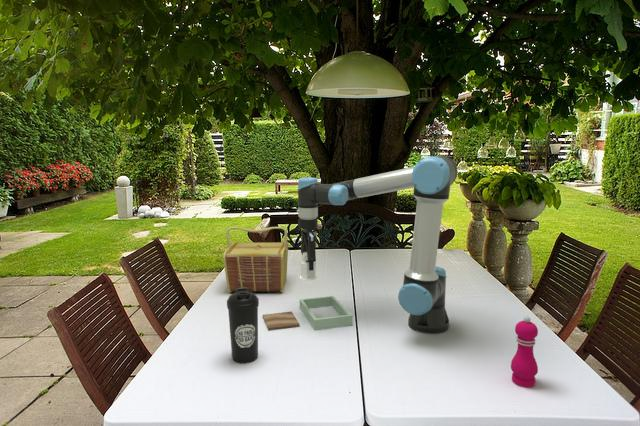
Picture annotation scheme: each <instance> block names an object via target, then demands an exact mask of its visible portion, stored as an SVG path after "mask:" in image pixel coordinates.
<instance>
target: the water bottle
mask: <svg viewBox="0 0 640 426" xmlns="http://www.w3.org/2000/svg"><path fill="white" fill-rule="evenodd" d="M259 304H260V303H259V297H258V296H257V295H256V294H255V292H249V291H248V289H247V287H241V288H236V292H233V293H232V294H231V295H229V296H228V298H227V300H226V308H227V310H228V322H229V333H230V334H229V335H230V336H229V337H230V347H231V360H232V361H233V362H235V363H237V364H249V363H252V362H254V361H257V359H258V357H259V318H258V317H259V316H258V315H259V310H258V309H259V306H260V305H259Z"/></svg>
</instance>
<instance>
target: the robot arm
mask: <svg viewBox="0 0 640 426" xmlns="http://www.w3.org/2000/svg"><path fill="white" fill-rule="evenodd" d="M457 178H458V167H457V164H456V163H455V161H454V160H453V158H451V157H449V156H446V155H434V156H432V155H431V156H426V157H423V158H422V159H421V160H418V162H416V164H415V165H414V166H411V167H406V168H402V169H397V170H392V171H387V172H382V173H378V174H373V175H369V176H364V177H359V178H355V179H350V180H345V181H340V182H335V183H331V184H330V183H329V184H328V183H319V181H318V178H317V177H300V178H299V179H298V183H297V197H298V199H297V200H298V203H297V204H298V206H297V207H298V208H297V210H296V212H297V215H298V217H299V218H298V219H297V221H298V223H297V225H298V229H300V232H301V233H300V234H301V235H300V237H301V240H300V242H301V243H300V253H301V256H302V257H301V261H303V253H304V252H307V257H308V261H306V262H307V278H314V262H316V261H317V259H316V258H317V256H316V235H315V233H314V231H313V230H314V229H315V230H316V229H318V227H319V226H318V225H319V221H318V220H319V218H318V217H319V208H318V207H319V206H318V204H319V205H320V204H323V205H333V206H344V205H346V203H347V202H348V201H351V200H355V199H359V198H360V199H361V198H366V197H371V196H375V195H376V196H377V195H381V194H386V193H392V192H393V193H394V192H397V191H398V192H399V191H403V190H408V189H409V190H410V189H413V193H412V196H413V197H414V198H415V200H416V207H415V208H416V209H415V216H414V217H415V219H414V226H413V236H412V243H411V252H410V261H409V267H408V268H407V269H406V270H404V273H403V274H404V275H403V282H402V286H401V287H400V289H399V292H398V293H397V294H398V296H397V299H398V302H399V305H400V306H401V308H402V309H403V310H404V311H405V312H406V313H408V314H409V316H408V318H407V319H408V324H407V325H408V327H409V328H410V329H411V330H413V331H416V332H419V333H424V334H440V333H445V332H447V331H448V330H449V328H450V320H449V316H448V313H447V310H446V286H447V285H446V284H447V281H446V280H447V271H446V269H445V268H444V267H440V266H436V265H437V264H436V263H437V255H438V248H439V240H440V232H441V224H442V215H443V208H444V204H445V203H446V202H447V201H448V200H449V198H450V192H451V186H452V185H453V184H454V183H455V181H456V179H457ZM311 258H312V259H311Z"/></svg>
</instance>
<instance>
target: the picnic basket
mask: <svg viewBox="0 0 640 426" xmlns="http://www.w3.org/2000/svg"><path fill="white" fill-rule="evenodd" d="M231 230H242V231H244V232H246V233H247V232H248V233H256V234H257V233H265V232H269V231H271V230H283V231H284V237H283V238H284V239H283V242H279V241H277V242H275V241H273V242H269V241H268V242H263V241H262V242H259V241H258V242H235V241H233V242H232V243H231V240H230V239H231V238H230V231H231ZM225 234H226V241H227V248H226V249H225V251H224V252H223V253H222V254H223V255H222V259H223V260H222V261H223V265H224V272H225V273H224V274H225V279H226V285H227V290H228V293H230V294H231V293H236V288H241V287H247V289H248V291H249V292H252V293H257V292H260V293H263V292H266V293H267V292H269V293H270V292H271V293H272V292H273V293H274V292H280V293H283V292H284V289H285V286H286V284H287V277H288V276H287V275H288V274H287V273H288V255H289V242H288V230H287V229H286V228H285V227H284V226H270V227H266V228H258V229H257V228H255V229H254V228H249V227H248V228H247V227H241V226H234V227H233V226H231V227H229V228H227V229H226V232H225Z"/></svg>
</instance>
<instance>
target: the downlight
mask: <svg viewBox="0 0 640 426" xmlns="http://www.w3.org/2000/svg"><path fill="white" fill-rule="evenodd" d="M302 256H303V261H302V260H301V261H300V275H299V279H301V280H303V281H315V280H316V279H318V276H317V275H316V272H317V270H316V269H317V265H316V264H317V262H316V261H315V262H314V278H307V262H306V261H308V257H307V252H304V253H303V255H302ZM311 259H312V258H311Z"/></svg>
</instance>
